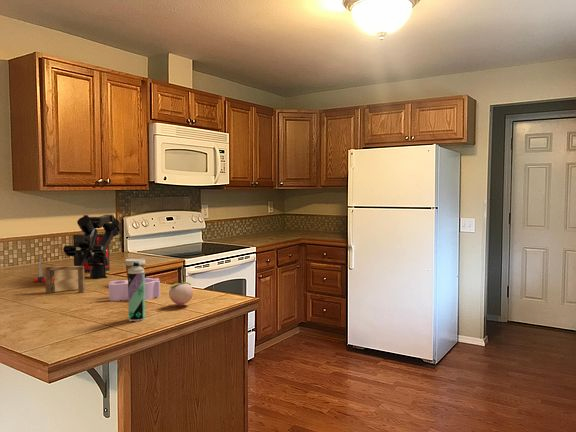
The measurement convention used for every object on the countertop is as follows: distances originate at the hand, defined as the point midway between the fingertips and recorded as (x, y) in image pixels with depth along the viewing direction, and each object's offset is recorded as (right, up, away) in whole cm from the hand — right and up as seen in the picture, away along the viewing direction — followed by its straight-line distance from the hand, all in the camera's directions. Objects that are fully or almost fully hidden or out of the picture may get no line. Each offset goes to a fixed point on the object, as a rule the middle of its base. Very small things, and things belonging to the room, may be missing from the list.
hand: (80, 266), depth 217 cm
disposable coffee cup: (+25, -9, +3) cm, 27 cm away
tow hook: (-23, -9, +13) cm, 28 cm away
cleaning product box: (-12, -7, +41) cm, 44 cm away
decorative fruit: (+56, -12, -36) cm, 68 cm away
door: (-2, -9, -10) cm, 14 cm away
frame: (0, -10, -14) cm, 17 cm away
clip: (+33, -11, -22) cm, 41 cm away
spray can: (+44, -13, -55) cm, 72 cm away
